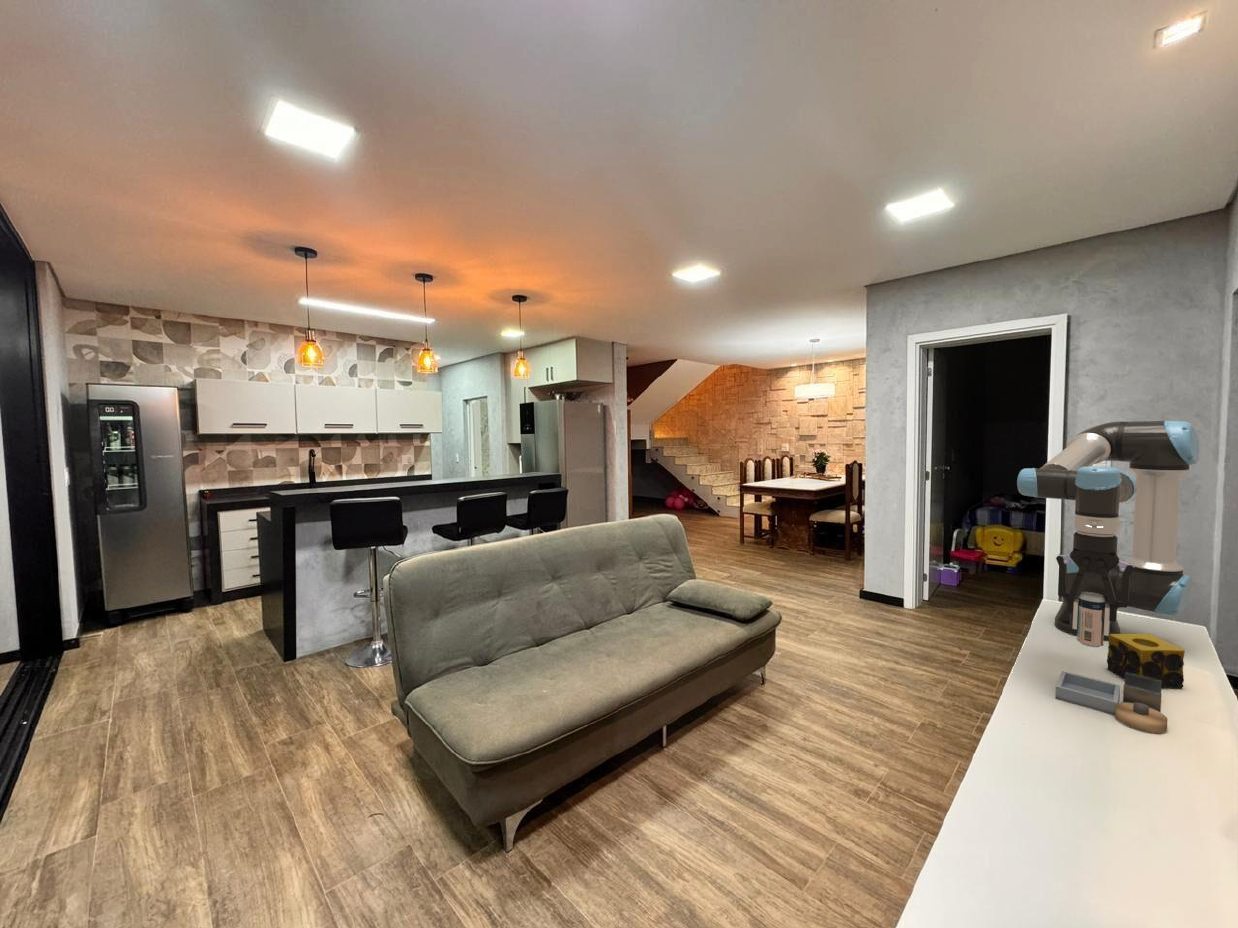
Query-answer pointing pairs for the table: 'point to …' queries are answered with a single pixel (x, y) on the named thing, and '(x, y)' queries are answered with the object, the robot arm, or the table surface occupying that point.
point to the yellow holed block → (1146, 658)
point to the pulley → (1141, 717)
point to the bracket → (1142, 690)
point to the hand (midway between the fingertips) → (1090, 630)
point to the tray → (1088, 692)
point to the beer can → (1091, 619)
